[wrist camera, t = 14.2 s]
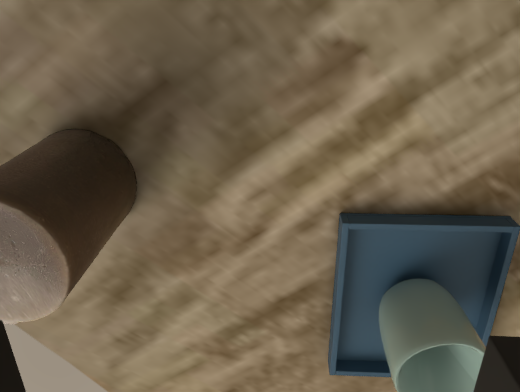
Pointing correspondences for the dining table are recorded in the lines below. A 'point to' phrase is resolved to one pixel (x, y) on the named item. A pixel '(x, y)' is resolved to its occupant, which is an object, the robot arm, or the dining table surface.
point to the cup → (428, 339)
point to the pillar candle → (57, 218)
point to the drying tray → (412, 275)
